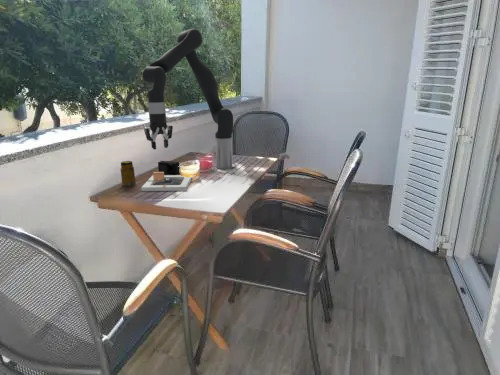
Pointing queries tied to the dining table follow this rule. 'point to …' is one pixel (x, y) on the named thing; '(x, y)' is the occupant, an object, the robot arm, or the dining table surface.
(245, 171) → the dining table surface
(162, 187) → the panel
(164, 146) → the robot arm
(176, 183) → the dial
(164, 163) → the digital camera
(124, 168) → the condiment
